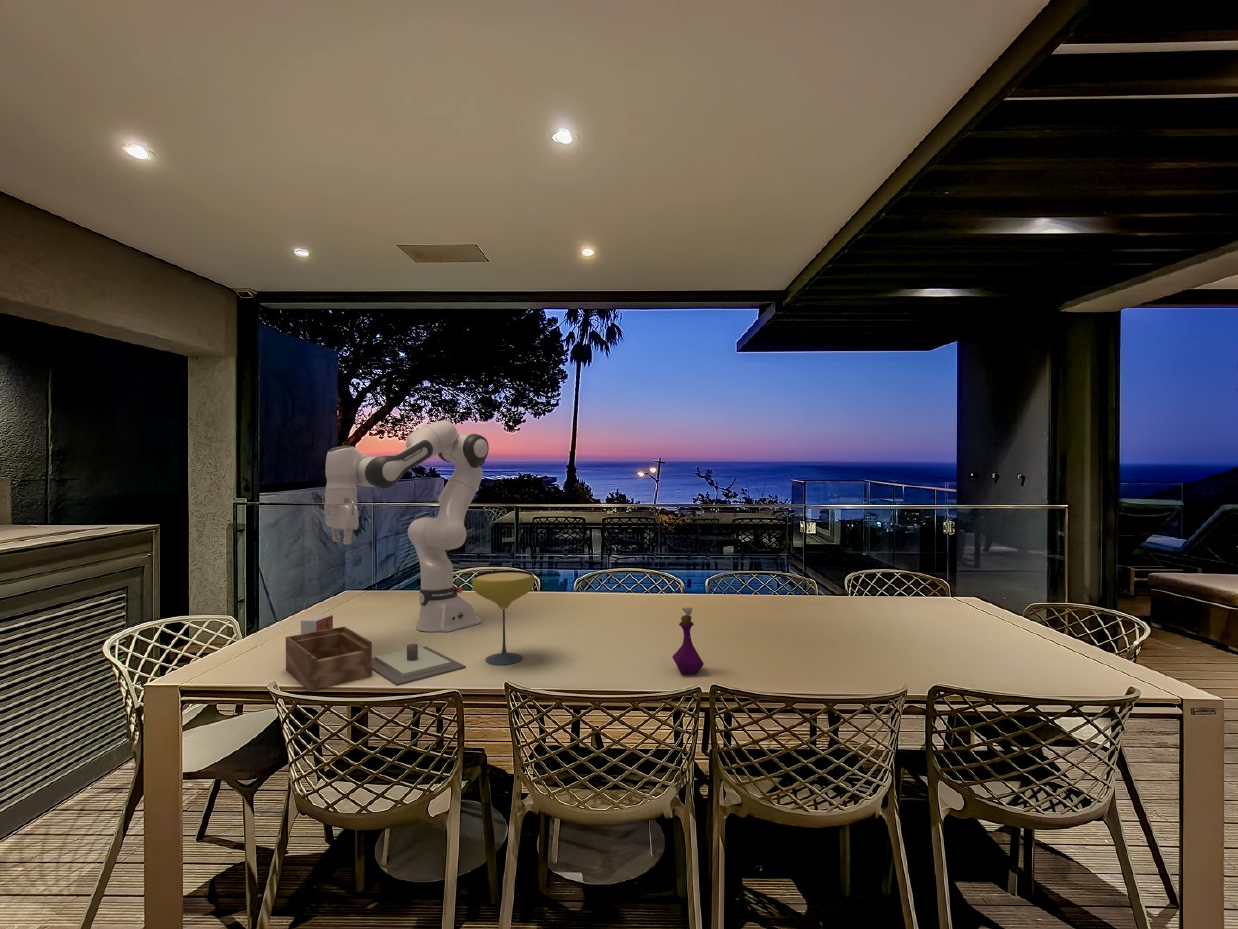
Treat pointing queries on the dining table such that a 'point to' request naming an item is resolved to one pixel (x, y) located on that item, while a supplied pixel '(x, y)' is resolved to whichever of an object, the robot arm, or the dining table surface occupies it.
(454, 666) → the mat
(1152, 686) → the dining table surface
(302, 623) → the small box
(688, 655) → the perfume bottle
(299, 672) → the walnut box
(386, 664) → the lid
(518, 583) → the cocktail glass
